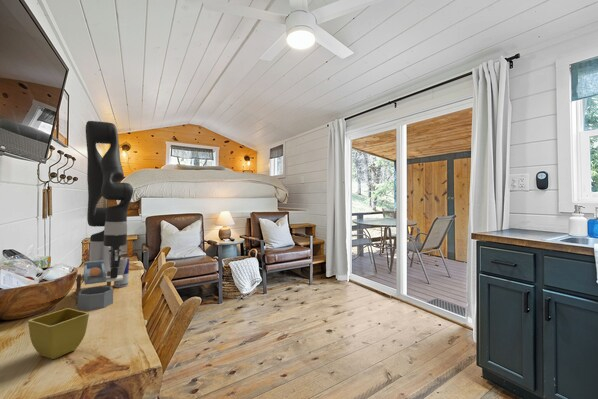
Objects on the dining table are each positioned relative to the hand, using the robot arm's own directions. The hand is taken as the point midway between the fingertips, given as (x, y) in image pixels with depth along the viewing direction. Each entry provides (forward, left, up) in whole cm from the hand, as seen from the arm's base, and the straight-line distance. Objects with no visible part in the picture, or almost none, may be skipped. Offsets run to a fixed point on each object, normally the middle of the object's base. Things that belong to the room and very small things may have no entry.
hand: (113, 277), depth 109 cm
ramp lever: (-6, -3, -1) cm, 7 cm away
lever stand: (-6, -6, -7) cm, 11 cm away
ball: (-3, -6, +2) cm, 7 cm away
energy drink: (-14, +4, -8) cm, 16 cm away
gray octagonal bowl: (+6, -6, -7) cm, 11 cm away
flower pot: (+39, -15, -8) cm, 43 cm away
